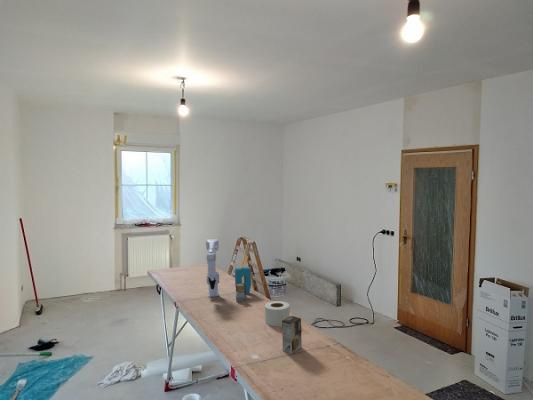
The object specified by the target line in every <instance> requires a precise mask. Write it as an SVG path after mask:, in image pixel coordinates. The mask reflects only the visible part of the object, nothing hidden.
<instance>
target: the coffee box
mask: <svg viewBox="0 0 533 400" xmlns="http://www.w3.org/2000/svg"><path fill="white" fill-rule="evenodd" d="M281 333H282V351H283V352H287V353H289V354H294V353H296V352H298V351H299V350H300V349H302V347H303V346H302V343H303V341H302V339H303V338H302V318H300V317H298V316H294V315H291V316H290V317H288V318H286V319H285V320H283V321H282V326H281Z"/></svg>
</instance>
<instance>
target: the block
mask: <svg viewBox="0 0 533 400" xmlns="http://www.w3.org/2000/svg"><path fill="white" fill-rule="evenodd" d="M251 270H252V267H250V266H245V267H237V268H234V281H235V282H234V284H235V287H236V284H243V285H245V292H244V293H245V295H248V294H250V292H251V291H250V290H251V289H252V288H251V286H252V271H251ZM243 281H244V282H243Z"/></svg>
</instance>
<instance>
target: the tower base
mask: <svg viewBox="0 0 533 400" xmlns="http://www.w3.org/2000/svg"><path fill="white" fill-rule="evenodd" d="M245 297H246V296H245ZM245 297H237V298H236V297H235V301H236V303H241V302H242V303H243V302H246V301H245Z"/></svg>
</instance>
